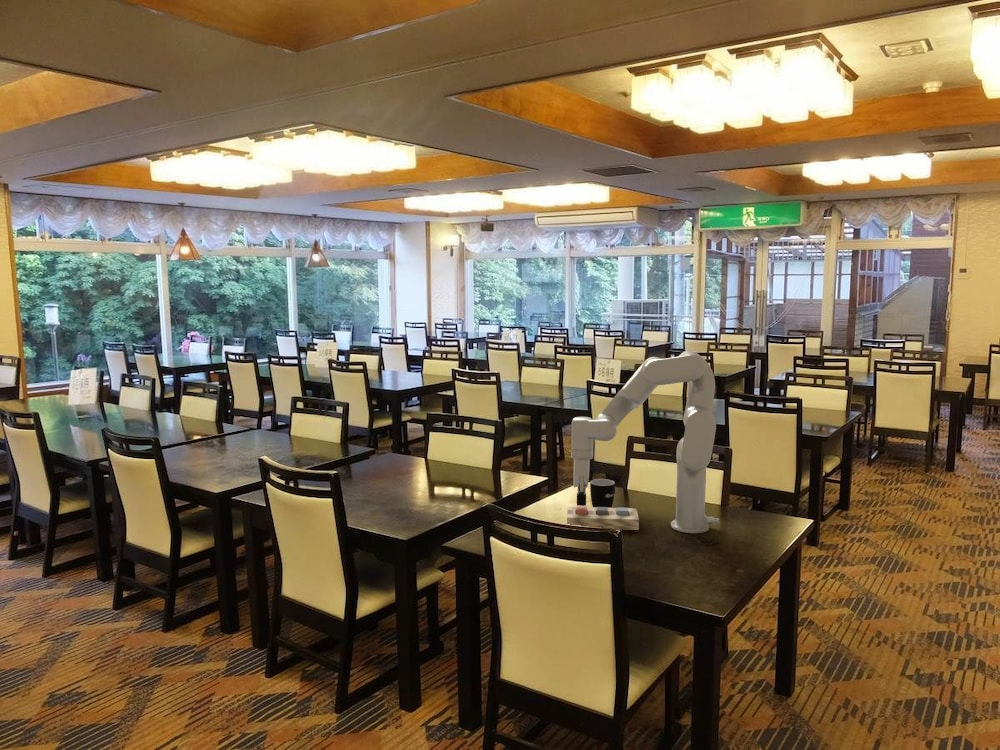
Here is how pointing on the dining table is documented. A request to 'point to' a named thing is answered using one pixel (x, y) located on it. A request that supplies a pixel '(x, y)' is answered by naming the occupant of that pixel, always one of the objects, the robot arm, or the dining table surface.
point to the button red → (581, 510)
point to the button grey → (602, 511)
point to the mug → (602, 492)
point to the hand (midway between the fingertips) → (581, 504)
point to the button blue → (622, 511)
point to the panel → (604, 519)
